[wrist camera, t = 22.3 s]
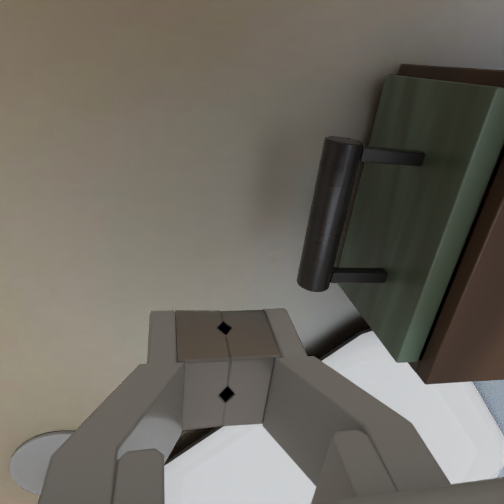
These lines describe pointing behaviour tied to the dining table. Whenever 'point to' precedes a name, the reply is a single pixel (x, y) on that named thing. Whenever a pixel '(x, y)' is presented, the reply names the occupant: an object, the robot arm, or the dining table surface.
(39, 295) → the dining table surface
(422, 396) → the plate
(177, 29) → the dining table surface
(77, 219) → the dining table surface
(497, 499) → the robot arm
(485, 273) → the cabinet
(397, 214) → the drawer
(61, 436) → the wineglass
